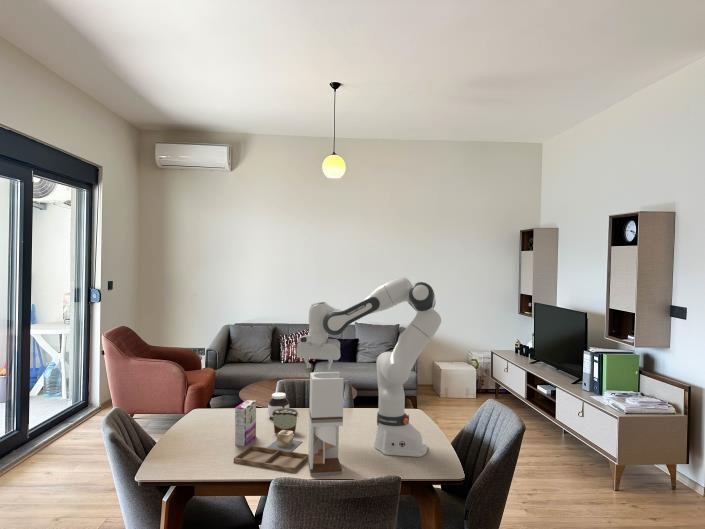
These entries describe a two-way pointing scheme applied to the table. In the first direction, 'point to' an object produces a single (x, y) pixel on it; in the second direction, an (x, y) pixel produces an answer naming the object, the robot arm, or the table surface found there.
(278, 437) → the maple block
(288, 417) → the food container
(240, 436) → the candy bar box
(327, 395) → the display case
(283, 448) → the gray mat
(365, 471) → the table surface
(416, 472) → the table surface
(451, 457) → the table surface
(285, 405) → the spread jar
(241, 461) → the walnut organizer
